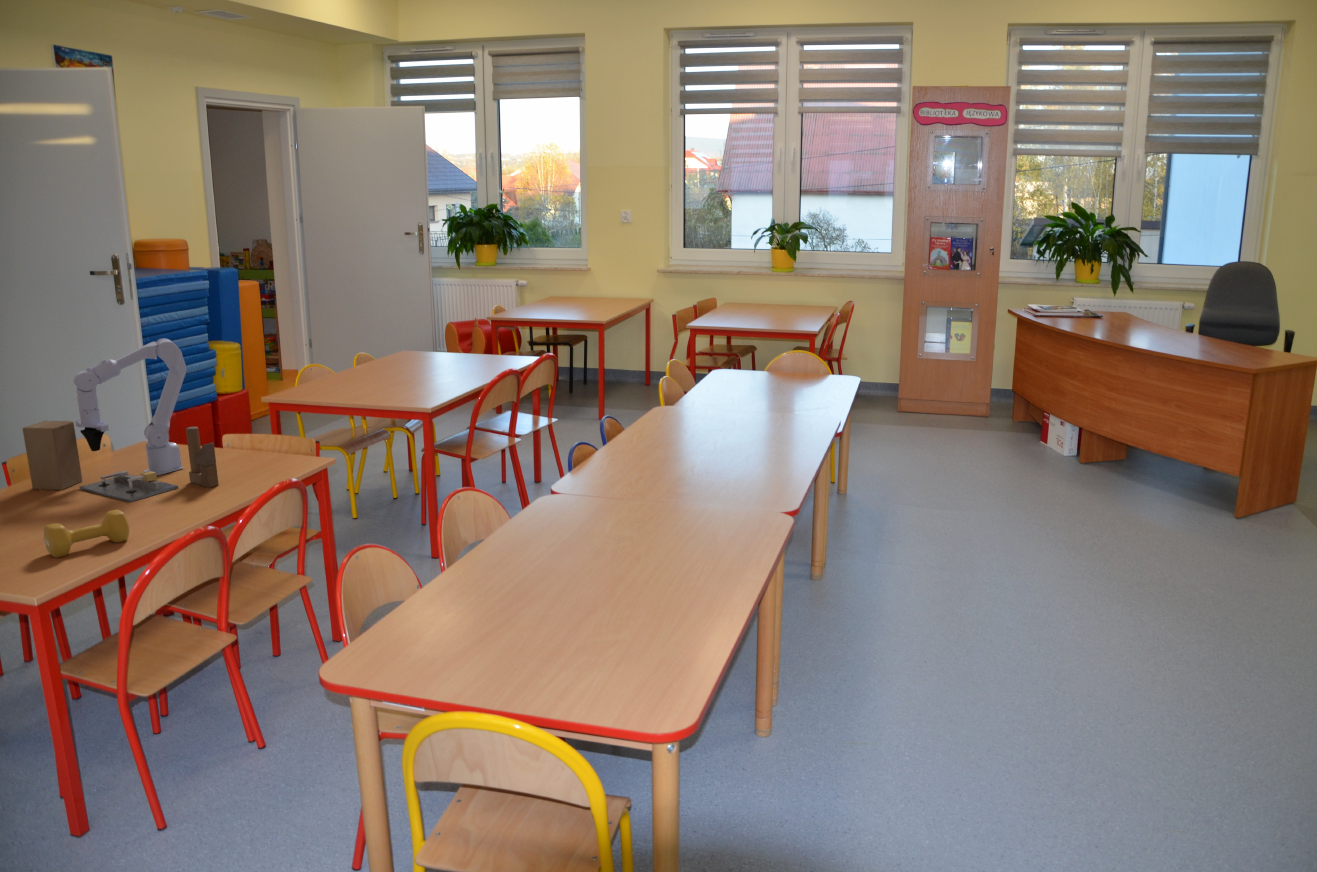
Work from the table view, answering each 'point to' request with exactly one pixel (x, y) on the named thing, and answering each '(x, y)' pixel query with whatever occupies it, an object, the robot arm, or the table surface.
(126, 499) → the hole plate
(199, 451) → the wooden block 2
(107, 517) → the dumbbell
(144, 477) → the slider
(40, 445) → the wooden block
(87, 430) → the robot arm
